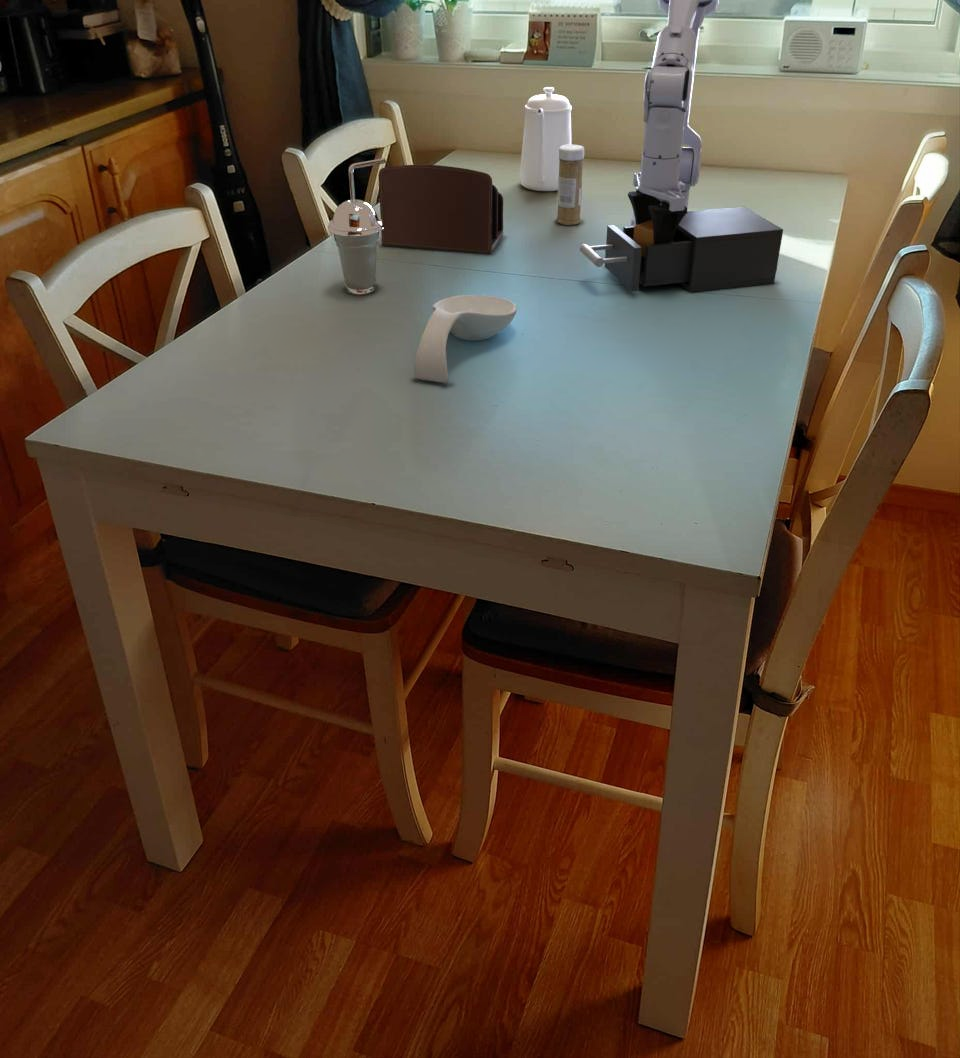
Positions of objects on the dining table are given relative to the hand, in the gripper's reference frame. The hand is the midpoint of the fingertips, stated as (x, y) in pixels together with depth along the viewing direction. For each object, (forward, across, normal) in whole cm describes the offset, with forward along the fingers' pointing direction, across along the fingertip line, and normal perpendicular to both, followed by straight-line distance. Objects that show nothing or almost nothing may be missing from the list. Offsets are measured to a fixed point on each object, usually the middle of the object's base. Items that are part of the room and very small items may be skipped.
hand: (652, 244), depth 153 cm
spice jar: (+6, +33, +2) cm, 33 cm away
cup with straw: (+6, +9, +45) cm, 46 cm away
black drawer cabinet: (+6, 0, -11) cm, 13 cm away
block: (+1, 0, 0) cm, 1 cm away
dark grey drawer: (+5, 0, +1) cm, 5 cm away
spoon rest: (+6, -17, +35) cm, 40 cm away
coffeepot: (+6, +57, -2) cm, 57 cm away
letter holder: (+6, +28, +27) cm, 40 cm away
